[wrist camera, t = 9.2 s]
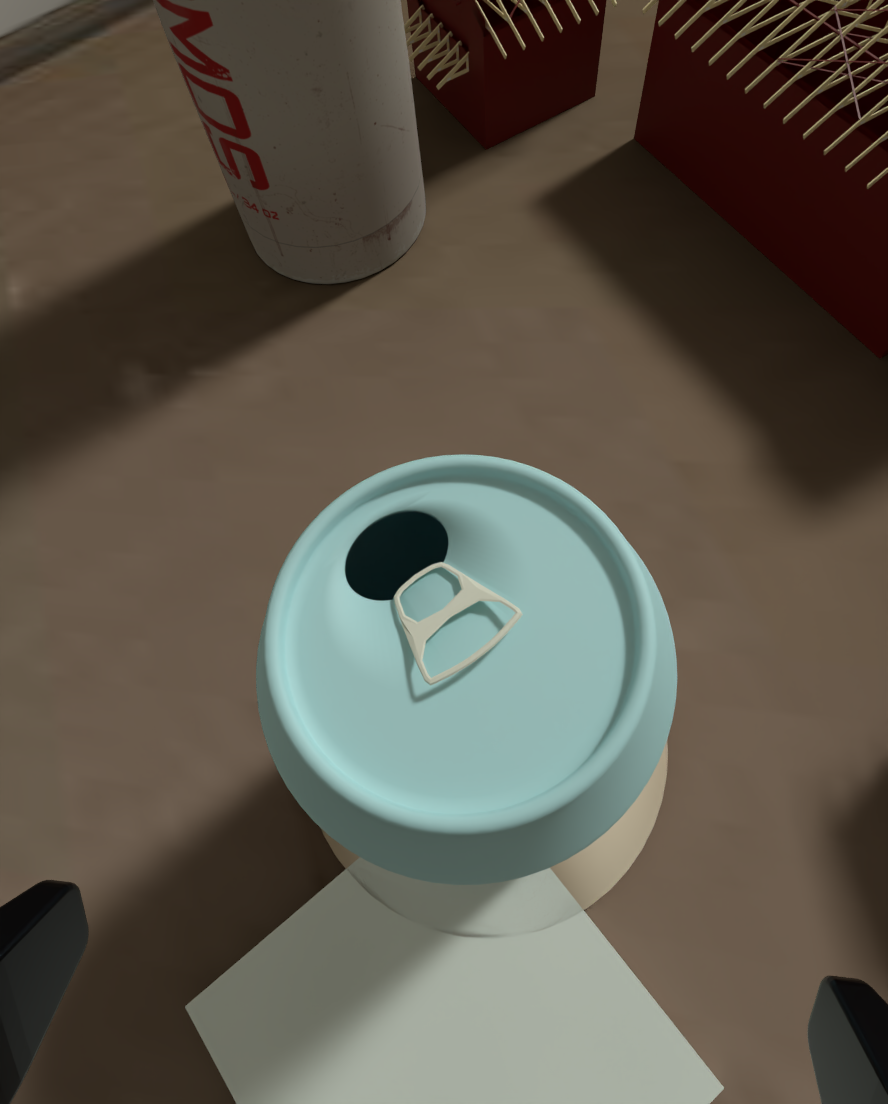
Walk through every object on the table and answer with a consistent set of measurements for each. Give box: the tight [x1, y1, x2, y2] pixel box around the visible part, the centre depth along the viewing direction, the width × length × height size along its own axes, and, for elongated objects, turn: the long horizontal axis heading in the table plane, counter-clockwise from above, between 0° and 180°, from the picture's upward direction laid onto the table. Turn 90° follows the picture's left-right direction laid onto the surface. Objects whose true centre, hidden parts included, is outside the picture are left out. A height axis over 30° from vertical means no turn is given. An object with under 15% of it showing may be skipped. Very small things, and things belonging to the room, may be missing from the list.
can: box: [256, 455, 677, 885], centre depth 16 cm, size 7×7×12 cm
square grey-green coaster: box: [185, 857, 724, 1104], centre depth 18 cm, size 10×10×1 cm
